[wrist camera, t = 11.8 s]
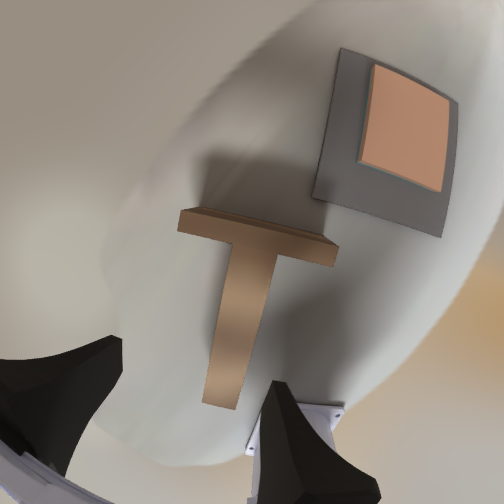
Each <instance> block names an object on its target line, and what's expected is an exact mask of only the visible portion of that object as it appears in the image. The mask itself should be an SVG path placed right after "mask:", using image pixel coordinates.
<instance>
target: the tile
mask: <svg viewBox="0 0 504 504" xmlns="http://www.w3.org/2000/svg"><path fill="white" fill-rule="evenodd" d="M448 126H449V101H448V100H447V99H445V98H443V97H442V96H440V95H438V94H436V93H435V92H433V91H431V90H429V89H427V88H426V87H424V86H422V85H420V84H418V83H416V82H414V81H412V80H410V79H408V78H406V77H404V76H402V75H400V74H397V73H395V72H393V71H391V70H388V69H386V68H384V67H381V66H379V65H376V64H375V65H374V66H373V67H372V69H371V70H370V76H369V84H368V92H367V100H366V107H365V114H364V120H363V126H362V132H361V138H360V144H359V149H358V154H357V159H356V163H359V164H362V165H365V166H368V167H371V168H374V169H377V170H379V171H382V172H385V173H387V174H390V175H393V176H395V177H398V178H400V179H403V180H405V181H408V182H410V183H413V184H415V185H418V186H420V187H422V188H425V189H427V190H429V191H431V192H441V188H442V182H443V175H444V168H445V160H446V151H447V140H448Z"/></svg>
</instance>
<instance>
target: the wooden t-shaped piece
mask: <svg viewBox="0 0 504 504" xmlns="http://www.w3.org/2000/svg"><path fill="white" fill-rule="evenodd" d="M177 231H179V232H183V233H188V234H192V235H197V236H201V237H205V238H210V239H214V240H218V241H223V242H227V243H232V244H233V247H232V251H231V256H230V261H229V265H228V270H227V275H226V280H225V285H224V290H223V294H222V299H221V304H220V309H219V314H218V319H217V324H216V329H215V334H214V340H213V345H212V350H211V355H210V361H209V366H208V371H207V377H206V382H205V387H204V393H203V398H202V403H206V404H210V405H214V406H219V407H223V408H228V409H232V410H235V409H236V405H237V402H238V399H239V395H240V392H241V388H242V385H243V382H244V378H245V375H246V371H247V368H248V364H249V361H250V357H251V353H252V350H253V346H254V343H255V339H256V335H257V332H258V328H259V324H260V321H261V317H262V313H263V309H264V306H265V302H266V298H267V294H268V291H269V287H270V283H271V279H272V275H273V271H274V267H275V263H276V259H277V255H278V254H279V255H283V256H288V257H292V258H296V259H301V260H305V261H309V262H314V263H318V264H322V265H326V266H331V267H333V266H334V263H335V259H336V256H337V252H338V249H339V246H337V245H336V244H335V243H333V242H332V241H330V240H329V239H327V238H326V237H325V236H323V235H320V234H316V233H312V232H308V231H304V230H300V229H296V228H291V227H287V226H283V225H279V224H275V223H271V222H266V221H262V220H258V219H253V218H249V217H244V216H240V215H236V214H231V213H226V212H222V211H217V210H213V209H208V208H203V207H195V208H190V209H184V210H181V213H180V218H179V223H178V229H177Z"/></svg>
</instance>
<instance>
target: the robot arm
mask: <svg viewBox="0 0 504 504" xmlns="http://www.w3.org/2000/svg"><path fill="white" fill-rule="evenodd" d="M122 372H123V363H122V339H121V338H118V337H116V336H113V335H110V336H107V337H105V338H102V339H99V340H97V341H95V342H92V343H90V344H87V345H85V346H82V347H79V348H77V349H74V350H70V351H68V352H64V353H61V354H58V355H54V356H49V357H44V358H36V359H27V360H4V359H0V488H2V489H3V490H4V491H5V492H6V493H7V494H8V495H9V496H11V497H12V498H13V499H14V500H15V501H17V502H18V503H19V504H114V503H112V502H110V501H107V500H105V499H103V498H101V497H99V496H97V495H95V494H93V493H91V492H89V491H87V490H85V489H83V488H81V487H80V486H78V485H76V484H74V483H73V482H71V481H69V480H67V479H66V478H65V474H66V471H67V468H68V465H69V463H70V460H71V458H72V455H73V452H74V450H75V448H76V446H77V444H78V442H79V439H80V437H81V435H82V433H83V431H84V430H85V428H86V426H87V424H88V422H89V420H90V419H91V417H92V416H93V414H94V413H95V412H96V410H97V409H98V408H99V406H100V405H101V404H102V402H103V401H104V400H105V399H106V397H107V396H108V395H109V393H110V392H111V390H112V389H113V388H114V386H115V385H116V383H117V381H118V379H119V377H120V375H121V373H122ZM344 412H345V410H344V408H343V407H338V406H324V405H313V404H303V403H297V402H296V401H295V399H294V397H293V395H292V393H291V391H290V389H289V387H288V385H287V384H286V382H280V381H274V380H273V381H272V383H271V386H270V389H269V391H268V394H267V397H266V399H265V402H264V404H263V407H262V409H261V412H260V415H259V418H258V420H257V423H256V425H255V428H254V430H253V433H252V435H251V438H250V440H249V442H248V445H247V447H246V450H245V454H247V455H252V456H254V459H253V476H252V491H251V493H252V497H251V498H247V504H377V503H378V502H379V501H380V499H381V494H380V490H379V487H378V484H377V481H376V479H375V478H373V477H371V476H369V475H367V474H366V473H364V472H362V471H360V470H359V469H357V468H356V467H354V466H353V465H351V464H350V463H348V462H347V461H346V460H344V459H343V458H342V457H341V456H339V455H338V454H337V452H336V448H335V444H334V440H333V435H332V431H333V430H334V428H335V426H336V425H337V423H338V422H339V420H340V419H341V417H342V415H343V414H344ZM337 414H338V415H337Z"/></svg>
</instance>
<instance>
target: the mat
mask: <svg viewBox="0 0 504 504" xmlns="http://www.w3.org/2000/svg"><path fill="white" fill-rule="evenodd" d="M375 64H376V65H379V66H381V67H384V68H386V69H388V70H391V71H393V72H395V73H397V74H400V75H402V76H404V77H406V78H408V79H410V80H412V81H414V82H416V83H418V84H420V85H422V86H424V87H426V88H427V89H429V90H431V91H433V92H435V93H436V94H438V95H440V96H442V97H443V98H445V99H447V100H448V101H449V126H448V140H447V151H446V160H445V168H444V175H443V182H442V188H441V192H431V191H429V190H427V189H425V188H422V187H420V186H418V185H415V184H413V183H410V182H408V181H405V180H403V179H400V178H398V177H395V176H393V175H390V174H387V173H385V172H382V171H379V170H377V169H374V168H371V167H368V166H365V165H362V164H359V163H356V159H357V154H358V149H359V144H360V138H361V132H362V126H363V120H364V114H365V107H366V100H367V92H368V84H369V76H370V70H371V69H372V67H373V66H374V65H375ZM457 132H458V103H457V102H456V101H454V100H452V99H451V98H449V97H448V96H446V95H444V94H443V93H441V92H439V91H437V90H436V89H434V88H432V87H430V86H429V85H427V84H425V83H423V82H421V81H419V80H417V79H415V78H413V77H411V76H409V75H407V74H405V73H403V72H401V71H399V70H397V69H394V68H392V67H390V66H388V65H385V64H383V63H381V62H378V61H376V60H373V59H371V58H368V57H365V56H363V55H360V54H357V53H354V52H352V51H349V50H346V49H342V48H341V50H340V54H339V60H338V66H337V73H336V79H335V84H334V90H333V96H332V101H331V106H330V112H329V117H328V122H327V127H326V132H325V137H324V142H323V147H322V152H321V156H320V161H319V166H318V170H317V175H316V179H315V183H314V188H313V192H312V196H311V197H312V198H316V199H319V200H323V201H327V202H330V203H334V204H337V205H341V206H344V207H348V208H351V209H355V210H358V211H361V212H365V213H368V214H371V215H374V216H377V217H381V218H384V219H387V220H390V221H393V222H396V223H399V224H402V225H405V226H408V227H411V228H414V229H416V230H419V231H422V232H425V233H428V234H430V235H433V236H436V237H439V238H441V236H442V232H443V228H444V224H445V219H446V215H447V210H448V205H449V199H450V194H451V188H452V181H453V174H454V166H455V157H456V146H457Z"/></svg>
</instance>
